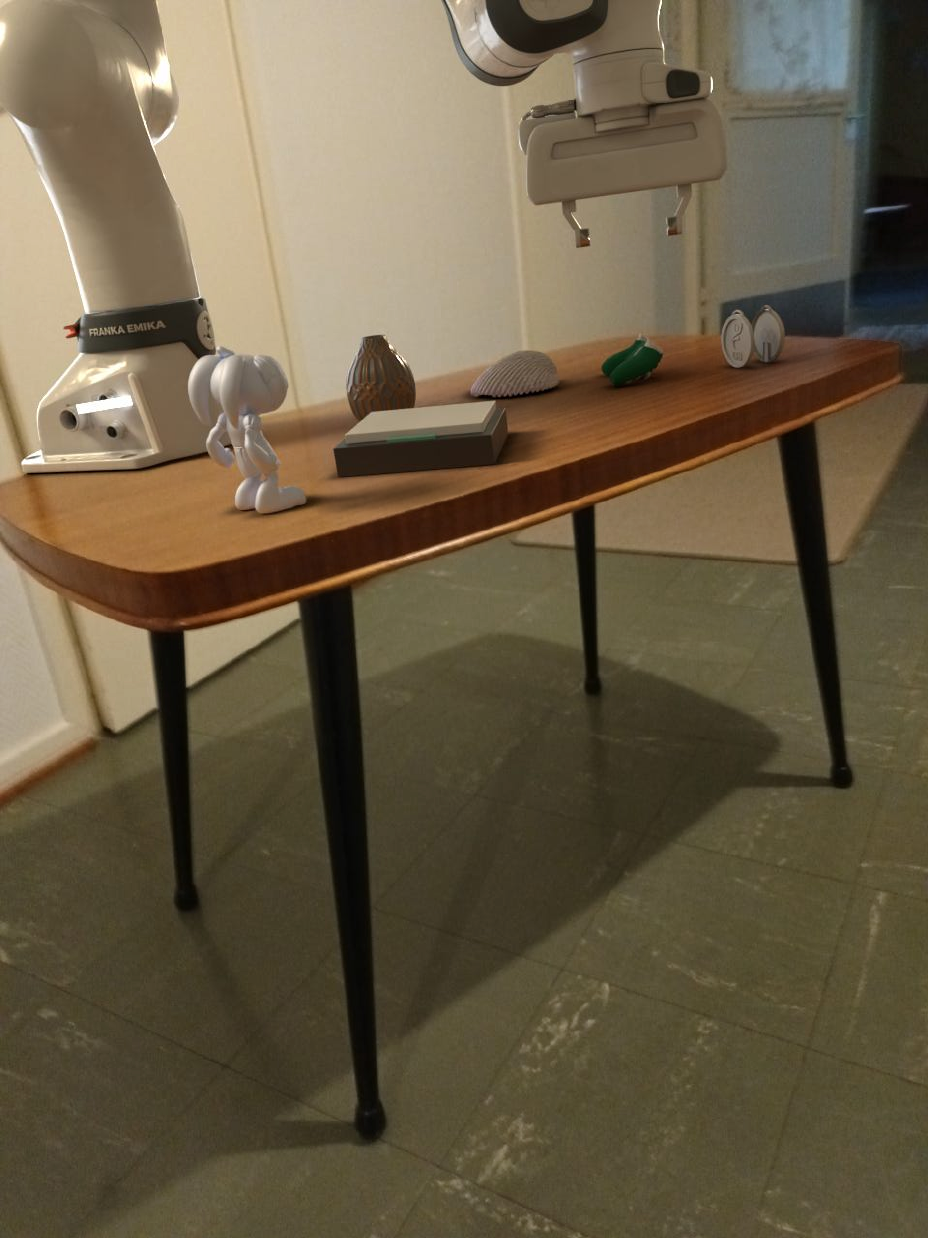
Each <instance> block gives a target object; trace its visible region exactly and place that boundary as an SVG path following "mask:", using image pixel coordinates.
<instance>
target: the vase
mask: <svg viewBox="0 0 928 1238" xmlns="http://www.w3.org/2000/svg"><path fill="white" fill-rule="evenodd" d="M345 388H346V397H347V401H348V405H349V407H350V410H351V412H352V414H353V416H354V417H355V418H356V420H357V421H358V423H359V422H361V421H362V420H363V419H364V418H365V417H366V416H368V415H369V414H370V413H371V412H378V411H388V410H399V409H410V408H415V405H416V400H417V399H416V398H417V389H416V382H415V377H414V373H413V372H412V369H411V368H410V365H409V364H408V362H407V360H406V359H405V358H404V357H403V355H401V354H400V352H398V350H397V349H396V348H394V346H393V345H392V344H391V342H390V341H389V339H388V337H387V336H386V335H385V334H373V335H368V336H363V337H361V338H360V342H359V346H358V349H357V351H356V353H355V355H354V357H353V358H352V361H351V363H350V365H349V367H348V370H347V375H346V382H345Z"/></svg>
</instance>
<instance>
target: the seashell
mask: <svg viewBox="0 0 928 1238" xmlns="http://www.w3.org/2000/svg"><path fill="white" fill-rule="evenodd" d="M557 373H558V371H557V366H556V364H555V361H554V360H553V359H552V358H551V356H549V355H548V354H546V353H544V352H542V351H538V350H530V349H529V350H528V349H527V350H518V351H516V352H515V351H514V352H512V353H509V354H508V355H505V356H503V357H502V358H500V359H499V360H497V361H495V362H494V363H493V364H491V365H490V366H488V367H487V368H486V369H485V370H484V371H483V372H482V373H481V374H480V375H479V376H478V378H477V379H475V382H474V383H473V384H472V386H471V389H470V395H471V396H472V397H474V398H475V397H476V398H479V397H481V396H482V395H484V396H491V397H492V398H497V397H498V398H501V397H502V398H503V397H507V396H509V398H510V397H512V396H513V395H514V396H518V395H520V396H521V395H523V394H524V393H525V394H526V395H527V394H529V393H530V392H531V393H532V394H533V393H534V392H536V393H538V392H540V391H541V392H543V391H544V390H548V389H552V388H555V387H557V386H558V385H559V384H560V379H559V378H558V377H557Z"/></svg>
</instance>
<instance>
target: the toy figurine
mask: <svg viewBox="0 0 928 1238" xmlns="http://www.w3.org/2000/svg"><path fill="white" fill-rule="evenodd" d="M216 354H218V355H216ZM216 354H215V355H206V356H203V357H202V358H200V359H199V360H198V361H197V362H196V364H195V365H194V367H193V369H192V371H191V373H190V377H189V381H188V392H189V398H190V402H191V404H192V407H193V409H194V411H195V413H196V414H197V416H198V418H199V419H200V420H201V422H202V423H204V424H205V425H206V426H208V427H211V421H210V415H209V409H208V402H209V396H210V393H211V395H212V397H213V398H214V400H215V401H216V403H217V404H218V405H219V406H221V407H222V408H223V410H224V413H221V414H220V416H219V418H218V421H217V422H218V423H217V424H216V426H215V427H214V428H212V430H211V431H210V433H209V436H208V438H207V441H206V447H207V450H208V451H207V453H208V455H209V456H210V458H211V459H212V461H213V462H214V463H215V464H217V465H218V466H221V467H223V468H227V469H230V468H232V466H233V465H234V464H235V462H236V463H237V468H238V470H239V473H240V474H241V476H242V477H244V479H243V480H242V482H241V483H240V484H239V486H238V487H237V489H236V492H235V496H234V504H235V508H237V510H241V511H247V510H255V511H256V512H257V513H259V514H274V513H276V512H281V511H284V510H288V509H291V508H294V507H296V506H301V505H304V504H306V503H307V496H306V493H305V491H304V489H302V488H301V487H299V486H297V485H287V486H285V487H284V486H283V487H281V486H280V476H279V472H278V470H279V468H280V467H279V466H281V465H282V463H281V461H280V459H279V458H278V455H277V454H276V453H275V451H274V449H273V447H272V446H271V444H270V443H269V441H268V440H267V439H266V438H265V436H264V433H263V431H262V430H263V428H264V422H263V419H262V417H260V416H261V415H262V414H268V413H272V412H275V411H277V410H279V409H280V408H281V407H282V405H283V404H284V402H285V400H286V398H287V394H288V389H289V381H288V378H287V376H286V373H285V370H284V369H283V366H282V364H281V363H280V362H279V361H278V360H277V359H275V358H274V357H272V356H270V355H266V354H256V355H251V354H247V353H246V354H245V353H237V354H235V351H233V350H231V349H228V348H226V347H224V346H222V345H218V346H216ZM226 431H228V433H229V436H230V439H231V443H232V444H231V445H232V447H233V451H234V454H233V453H232V451H231V448H229V447H225V446H224V447H223V446H222V445H221V443H220V442H219V441H218V440H219V439H220V437H221V436H222V435H223V433H224V432H226ZM262 475H264V480H263V481H262Z"/></svg>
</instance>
